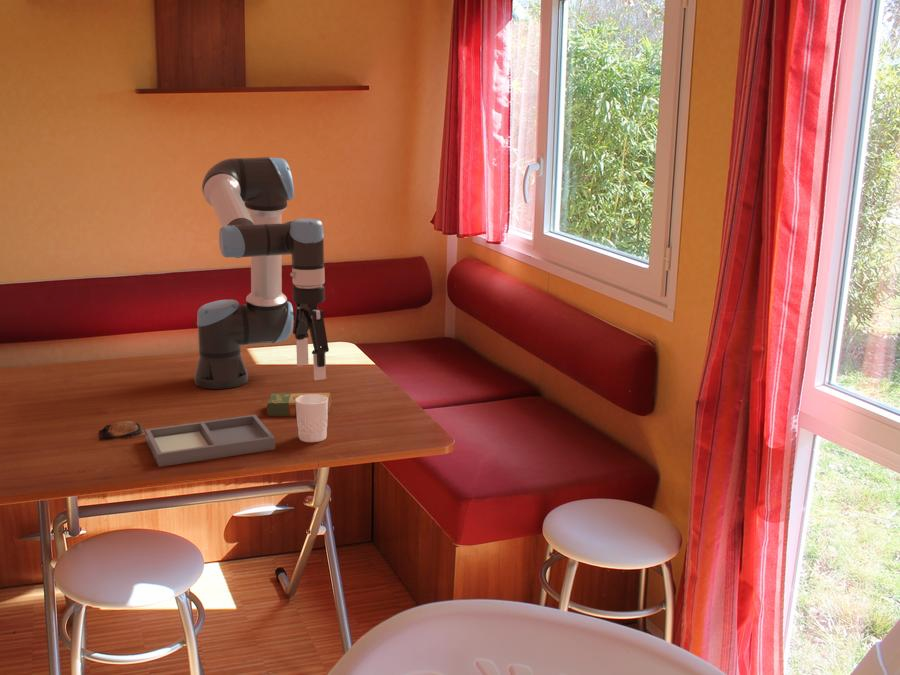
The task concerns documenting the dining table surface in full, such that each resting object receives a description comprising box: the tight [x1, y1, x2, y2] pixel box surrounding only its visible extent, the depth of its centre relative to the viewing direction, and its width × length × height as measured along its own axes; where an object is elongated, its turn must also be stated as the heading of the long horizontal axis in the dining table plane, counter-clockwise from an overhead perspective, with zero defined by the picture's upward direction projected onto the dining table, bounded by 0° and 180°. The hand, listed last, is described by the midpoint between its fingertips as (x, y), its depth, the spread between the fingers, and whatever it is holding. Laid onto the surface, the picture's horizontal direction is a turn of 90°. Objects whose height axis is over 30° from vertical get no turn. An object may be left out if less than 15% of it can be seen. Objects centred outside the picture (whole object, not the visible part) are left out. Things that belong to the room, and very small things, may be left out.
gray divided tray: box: [144, 414, 276, 468], centre depth 236 cm, size 18×27×3 cm, turn 115°
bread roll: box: [98, 420, 146, 442], centre depth 244 cm, size 11×8×4 cm
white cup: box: [295, 394, 329, 443], centre depth 241 cm, size 8×8×10 cm
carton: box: [266, 392, 332, 417], centre depth 262 cm, size 8×16×4 cm, turn 93°
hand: (311, 372), depth 238 cm, fingers open, 13 cm apart
